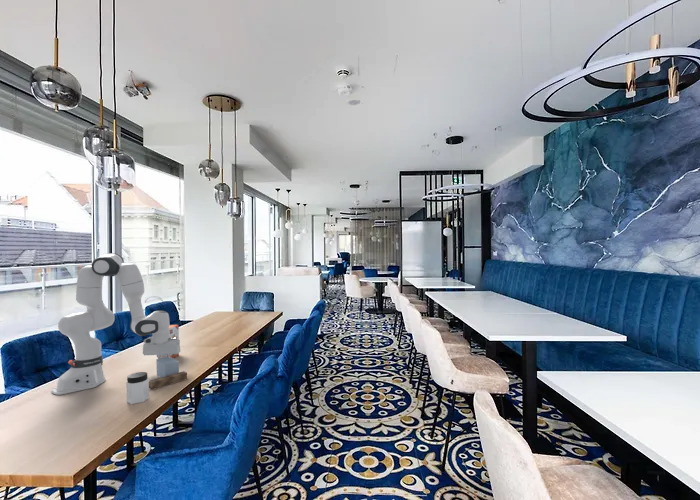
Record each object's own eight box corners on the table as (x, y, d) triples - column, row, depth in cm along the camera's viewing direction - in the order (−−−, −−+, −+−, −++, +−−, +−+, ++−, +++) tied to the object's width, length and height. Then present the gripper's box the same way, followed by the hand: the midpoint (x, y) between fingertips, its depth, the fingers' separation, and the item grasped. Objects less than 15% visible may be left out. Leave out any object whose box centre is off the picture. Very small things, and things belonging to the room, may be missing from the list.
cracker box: (168, 361, 221) (167, 329, 221) (159, 361, 221) (158, 329, 221) (179, 355, 235) (179, 324, 235) (171, 355, 235) (170, 324, 235)
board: (151, 389, 175) (151, 382, 175) (148, 388, 177) (148, 381, 177) (187, 379, 189) (187, 372, 189) (183, 377, 191) (183, 371, 191)
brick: (165, 381, 186) (165, 364, 186) (156, 375, 196) (156, 359, 196) (179, 377, 191) (178, 361, 191) (169, 371, 201) (169, 356, 201)
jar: (123, 401, 161) (123, 376, 161) (141, 395, 168) (140, 370, 168) (134, 405, 157) (133, 379, 157) (152, 398, 164) (151, 373, 164)
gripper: (182, 336, 203) (182, 359, 203) (146, 337, 203) (147, 361, 203) (176, 339, 197) (177, 363, 197) (140, 340, 197) (141, 364, 197)
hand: (162, 362), depth 200 cm, fingers closed
